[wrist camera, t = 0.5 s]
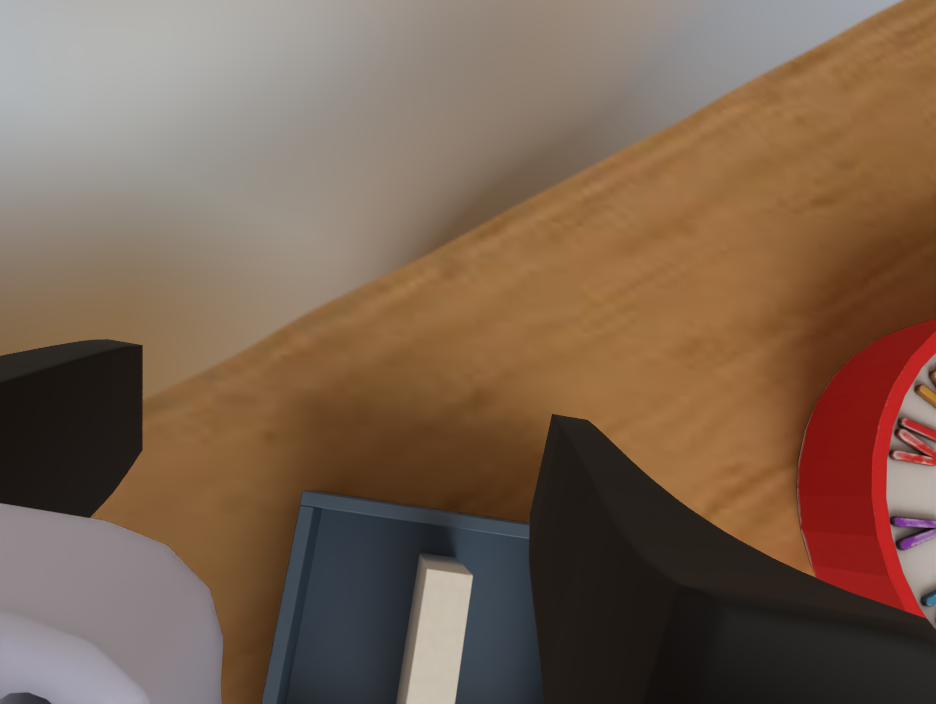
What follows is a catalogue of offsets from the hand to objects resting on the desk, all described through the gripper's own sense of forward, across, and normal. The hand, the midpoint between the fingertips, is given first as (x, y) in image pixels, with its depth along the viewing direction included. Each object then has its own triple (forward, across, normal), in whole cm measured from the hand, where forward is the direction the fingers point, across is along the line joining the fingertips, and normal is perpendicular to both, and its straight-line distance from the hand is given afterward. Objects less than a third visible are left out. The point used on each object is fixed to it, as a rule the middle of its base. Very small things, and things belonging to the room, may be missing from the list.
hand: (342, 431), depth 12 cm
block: (+15, -2, +19) cm, 24 cm away
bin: (+16, -2, +19) cm, 25 cm away
